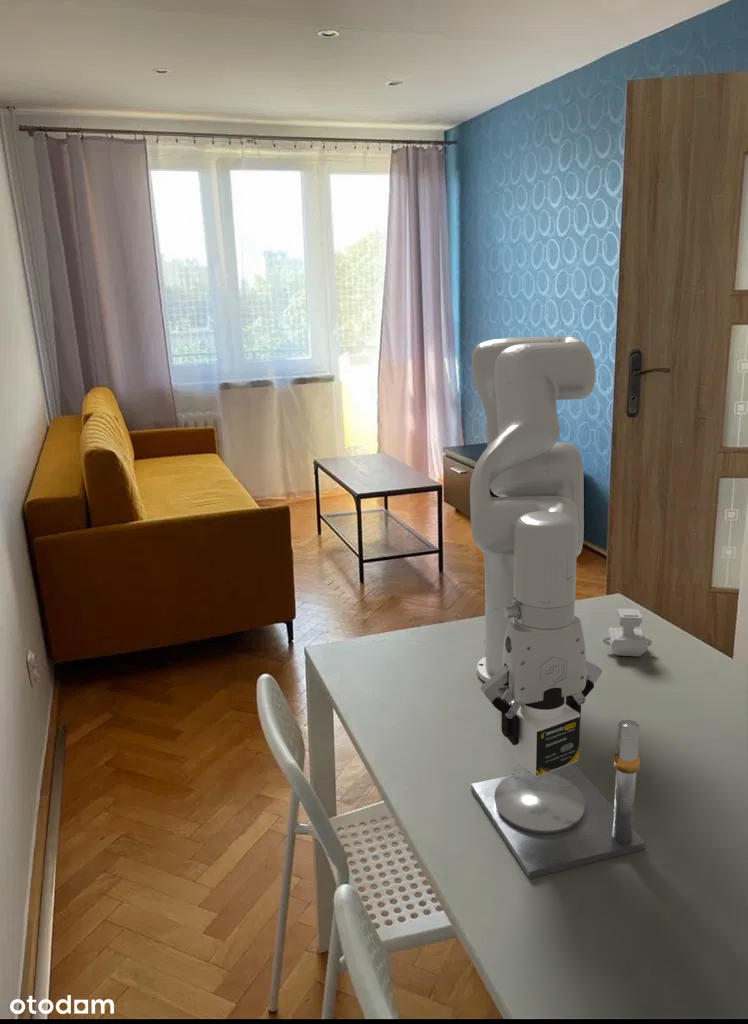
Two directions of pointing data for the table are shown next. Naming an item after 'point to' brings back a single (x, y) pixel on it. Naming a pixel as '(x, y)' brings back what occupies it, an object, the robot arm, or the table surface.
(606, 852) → the base plate with post
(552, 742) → the medicine bottle
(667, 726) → the table surface
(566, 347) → the robot arm
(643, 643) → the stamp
